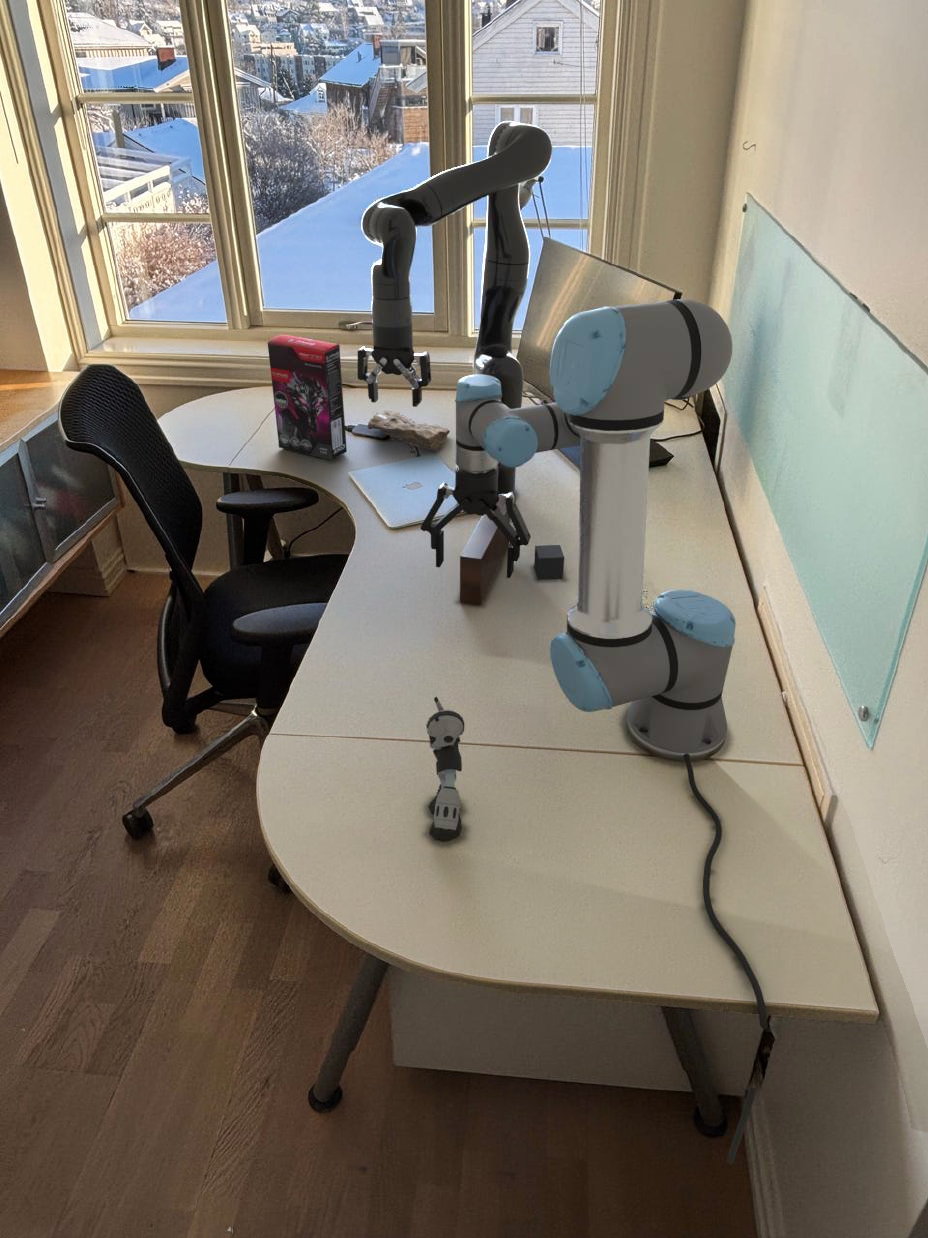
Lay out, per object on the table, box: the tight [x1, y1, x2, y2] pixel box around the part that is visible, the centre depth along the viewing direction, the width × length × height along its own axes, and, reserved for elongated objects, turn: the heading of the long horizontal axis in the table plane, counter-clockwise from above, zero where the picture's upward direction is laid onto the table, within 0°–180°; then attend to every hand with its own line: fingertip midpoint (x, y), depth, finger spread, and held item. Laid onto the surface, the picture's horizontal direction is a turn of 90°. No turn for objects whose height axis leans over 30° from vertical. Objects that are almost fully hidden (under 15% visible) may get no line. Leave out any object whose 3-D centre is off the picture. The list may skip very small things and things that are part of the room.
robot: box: [425, 696, 465, 842], centre depth 121 cm, size 20×5×20 cm, turn 3°
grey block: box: [533, 544, 565, 581], centre depth 181 cm, size 5×5×5 cm
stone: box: [367, 410, 451, 451], centre depth 235 cm, size 21×15×6 cm
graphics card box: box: [267, 333, 348, 461], centre depth 223 cm, size 17×7×27 cm, turn 62°
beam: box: [459, 501, 511, 606], centre depth 180 cm, size 24×4×10 cm, turn 165°
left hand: (395, 403), depth 181 cm, fingers open, 8 cm apart
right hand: (474, 569), depth 173 cm, fingers open, 13 cm apart
